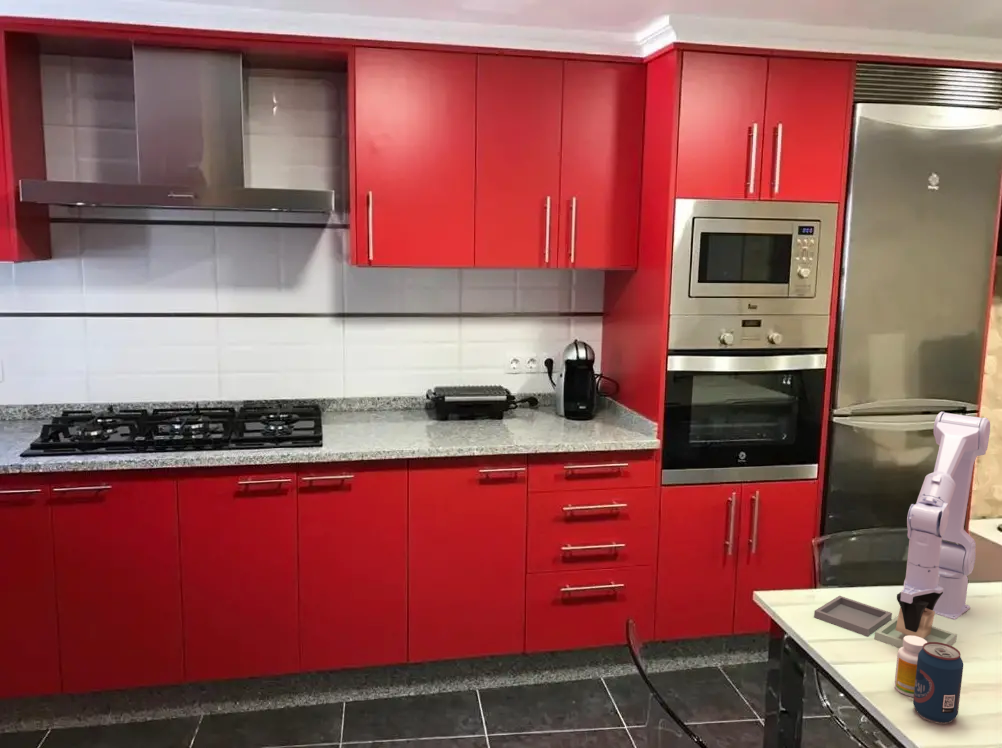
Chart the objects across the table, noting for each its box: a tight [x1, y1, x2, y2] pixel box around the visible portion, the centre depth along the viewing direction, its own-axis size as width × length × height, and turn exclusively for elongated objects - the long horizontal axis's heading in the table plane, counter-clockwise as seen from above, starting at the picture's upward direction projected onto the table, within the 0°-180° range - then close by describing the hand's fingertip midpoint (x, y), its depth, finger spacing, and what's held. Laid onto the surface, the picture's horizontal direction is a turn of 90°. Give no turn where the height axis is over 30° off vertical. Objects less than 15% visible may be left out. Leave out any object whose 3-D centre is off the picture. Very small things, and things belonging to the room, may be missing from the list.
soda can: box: [912, 642, 964, 724], centre depth 145 cm, size 7×7×12 cm
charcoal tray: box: [813, 595, 893, 638], centre depth 181 cm, size 12×12×2 cm
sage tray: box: [873, 614, 958, 649], centre depth 172 cm, size 12×12×2 cm
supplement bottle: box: [894, 635, 927, 698], centre depth 152 cm, size 5×5×10 cm
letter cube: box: [896, 606, 936, 639], centre depth 171 cm, size 5×5×5 cm
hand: (916, 625), depth 171 cm, fingers closed on letter cube, 5 cm apart
